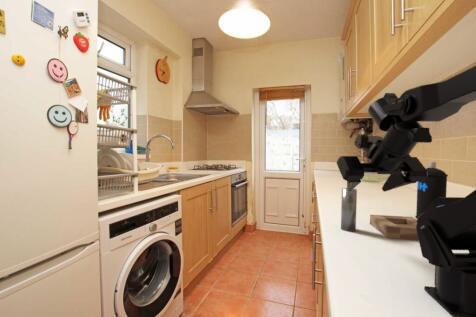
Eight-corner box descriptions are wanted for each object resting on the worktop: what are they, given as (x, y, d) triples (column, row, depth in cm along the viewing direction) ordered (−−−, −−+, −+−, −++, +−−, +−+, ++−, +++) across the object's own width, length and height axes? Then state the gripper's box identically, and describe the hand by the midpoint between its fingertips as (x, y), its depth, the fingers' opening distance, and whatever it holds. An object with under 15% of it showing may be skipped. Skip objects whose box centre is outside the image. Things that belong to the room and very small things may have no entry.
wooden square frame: (437, 241, 60) (438, 229, 60) (387, 237, 62) (387, 226, 62) (411, 226, 72) (411, 216, 71) (369, 223, 74) (370, 214, 74)
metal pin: (357, 232, 66) (358, 190, 66) (342, 231, 67) (344, 189, 66) (353, 227, 70) (354, 188, 69) (339, 226, 70) (340, 187, 70)
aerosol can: (443, 218, 81) (446, 162, 80) (448, 224, 74) (450, 162, 73) (414, 214, 85) (416, 161, 85) (416, 220, 78) (418, 161, 78)
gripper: (418, 123, 55) (386, 167, 66) (340, 122, 54) (322, 166, 65) (448, 155, 47) (407, 200, 58) (358, 154, 46) (333, 199, 57)
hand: (365, 189), depth 60 cm, fingers open, 9 cm apart
